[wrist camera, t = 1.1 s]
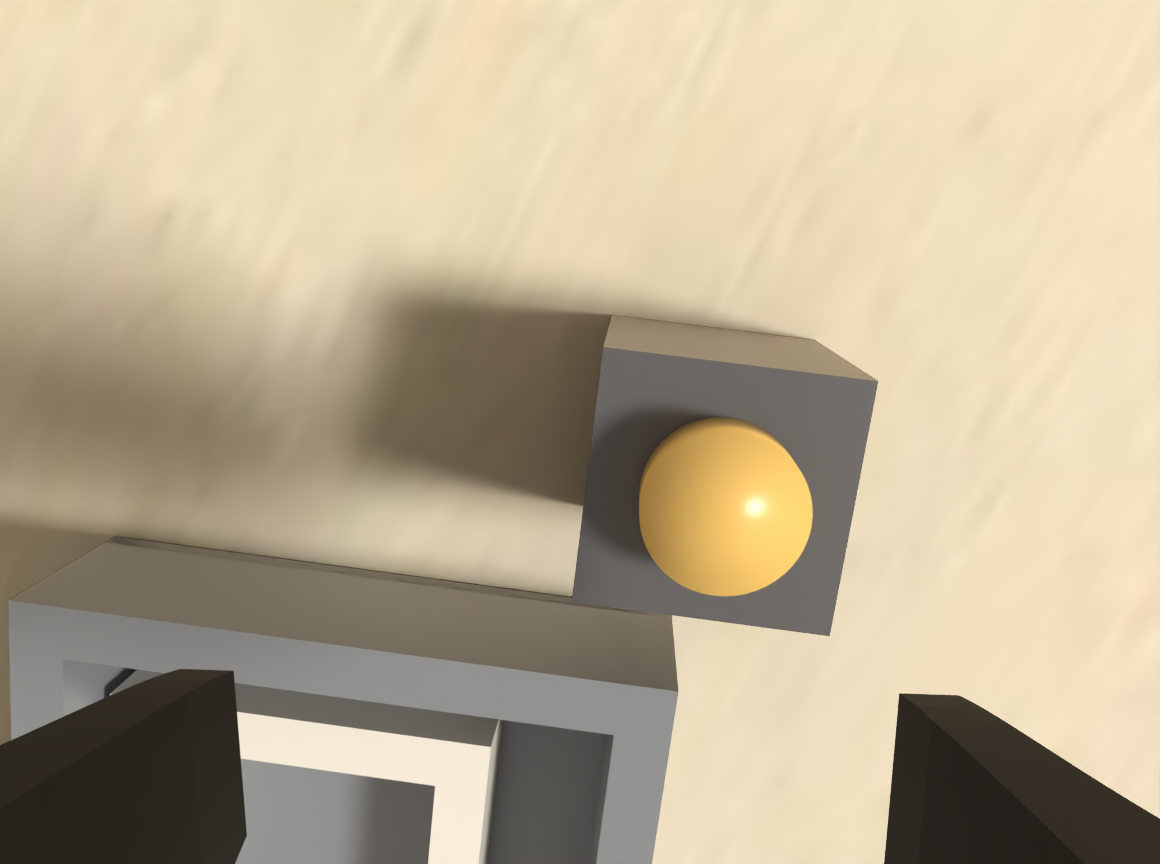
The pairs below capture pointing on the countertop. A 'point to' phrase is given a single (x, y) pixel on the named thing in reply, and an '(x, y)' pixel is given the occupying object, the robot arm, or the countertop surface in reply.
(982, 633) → the countertop surface
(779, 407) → the plug
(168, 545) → the box
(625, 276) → the countertop surface
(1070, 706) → the countertop surface
